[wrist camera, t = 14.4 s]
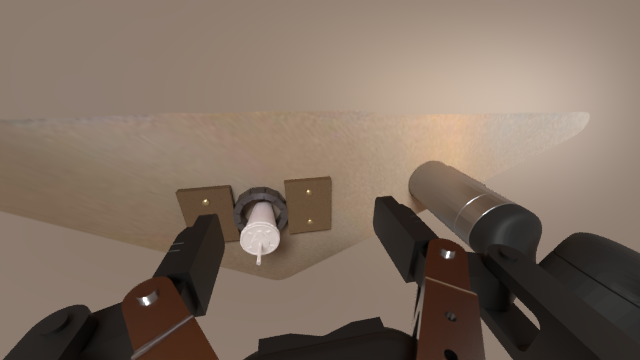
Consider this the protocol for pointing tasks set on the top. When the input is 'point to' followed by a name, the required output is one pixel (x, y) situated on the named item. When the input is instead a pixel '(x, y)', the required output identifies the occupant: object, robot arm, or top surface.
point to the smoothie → (260, 231)
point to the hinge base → (299, 207)
